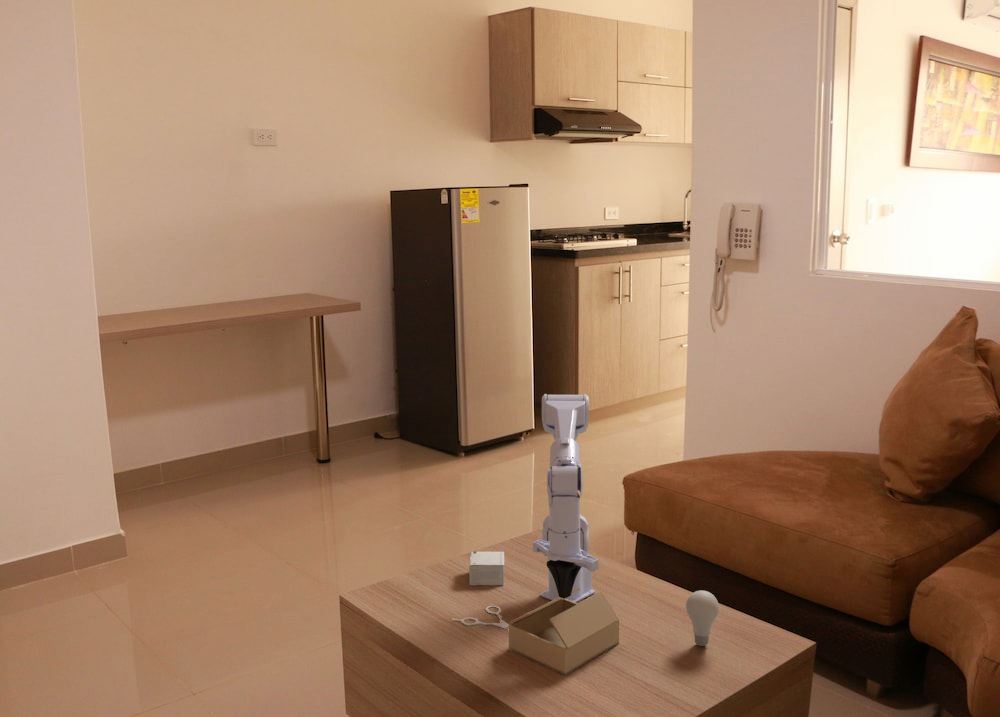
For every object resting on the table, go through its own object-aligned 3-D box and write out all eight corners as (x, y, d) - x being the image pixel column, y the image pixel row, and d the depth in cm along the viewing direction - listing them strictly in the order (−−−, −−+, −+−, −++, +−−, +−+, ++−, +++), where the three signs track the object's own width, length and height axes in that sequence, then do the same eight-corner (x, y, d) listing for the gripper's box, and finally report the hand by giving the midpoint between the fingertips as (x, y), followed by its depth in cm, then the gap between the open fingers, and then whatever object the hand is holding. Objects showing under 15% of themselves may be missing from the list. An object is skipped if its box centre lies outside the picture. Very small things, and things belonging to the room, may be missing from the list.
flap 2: (600, 592, 173) (601, 591, 173) (617, 620, 171) (618, 619, 171) (549, 619, 163) (550, 618, 163) (566, 649, 161) (568, 648, 161)
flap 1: (561, 598, 181) (560, 596, 181) (580, 589, 177) (579, 587, 177) (510, 624, 170) (509, 622, 171) (529, 615, 166) (528, 613, 167)
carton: (563, 620, 182) (563, 597, 181) (618, 643, 173) (619, 619, 172) (508, 649, 171) (508, 625, 170) (565, 676, 161) (565, 650, 160)
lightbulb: (678, 642, 173) (679, 588, 171) (704, 635, 175) (706, 582, 173) (697, 656, 167) (699, 601, 165) (724, 649, 170) (726, 595, 168)
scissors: (487, 601, 191) (559, 631, 177) (487, 605, 191) (559, 635, 177) (450, 619, 183) (523, 651, 169) (450, 622, 183) (523, 655, 170)
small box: (504, 586, 199) (504, 564, 198) (468, 586, 199) (468, 564, 198) (504, 571, 207) (504, 550, 206) (470, 572, 207) (470, 551, 206)
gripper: (521, 524, 169) (522, 591, 172) (581, 544, 160) (581, 615, 162) (546, 514, 174) (546, 580, 177) (605, 533, 164) (605, 602, 167)
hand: (564, 596), depth 170 cm, fingers closed
